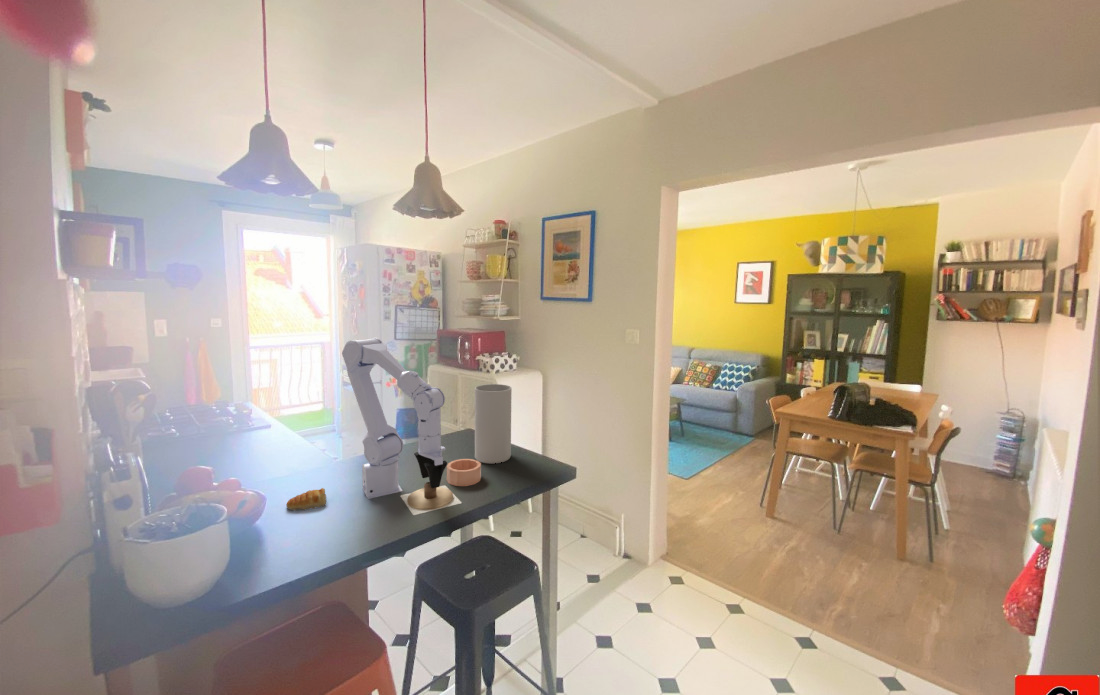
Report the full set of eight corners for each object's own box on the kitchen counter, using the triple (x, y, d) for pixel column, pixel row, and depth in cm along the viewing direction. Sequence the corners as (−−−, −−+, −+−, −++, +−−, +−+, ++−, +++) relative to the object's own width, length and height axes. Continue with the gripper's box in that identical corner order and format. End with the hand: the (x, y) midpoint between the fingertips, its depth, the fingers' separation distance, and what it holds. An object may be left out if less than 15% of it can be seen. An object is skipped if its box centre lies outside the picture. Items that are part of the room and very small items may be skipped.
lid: (415, 514, 111) (414, 498, 111) (402, 495, 121) (401, 481, 121) (459, 502, 118) (459, 487, 117) (444, 486, 128) (443, 472, 127)
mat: (413, 517, 111) (413, 515, 110) (400, 497, 121) (400, 495, 121) (461, 505, 118) (462, 502, 118) (445, 487, 128) (445, 485, 128)
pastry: (286, 515, 111) (286, 500, 110) (286, 504, 117) (285, 490, 116) (328, 506, 116) (327, 492, 115) (325, 496, 121) (325, 483, 121)
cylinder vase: (517, 459, 152) (518, 388, 149) (486, 467, 144) (486, 393, 141) (498, 449, 162) (499, 382, 159) (468, 456, 154) (468, 386, 151)
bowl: (454, 490, 126) (454, 474, 126) (442, 478, 135) (442, 462, 134) (486, 483, 132) (486, 467, 131) (472, 471, 140) (472, 456, 140)
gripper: (453, 438, 114) (454, 488, 115) (435, 424, 126) (436, 470, 127) (427, 443, 110) (427, 494, 111) (410, 428, 122) (411, 475, 123)
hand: (430, 482), depth 119 cm, fingers open, 7 cm apart
